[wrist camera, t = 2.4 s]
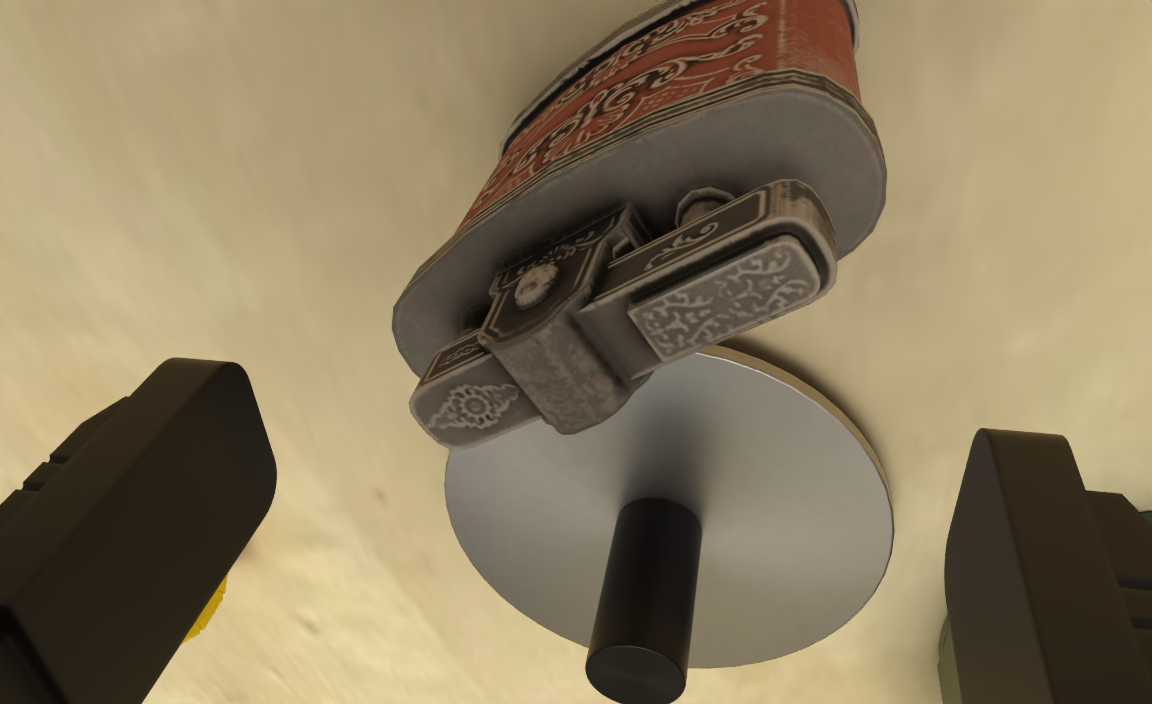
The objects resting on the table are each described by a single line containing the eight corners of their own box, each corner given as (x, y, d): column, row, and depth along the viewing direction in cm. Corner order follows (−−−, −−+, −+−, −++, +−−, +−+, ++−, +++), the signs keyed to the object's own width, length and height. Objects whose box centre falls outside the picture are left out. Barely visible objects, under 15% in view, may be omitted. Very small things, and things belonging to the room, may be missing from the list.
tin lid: (478, 613, 31) (422, 778, 26) (427, 305, 24) (337, 456, 19) (858, 663, 29) (870, 853, 24) (928, 339, 22) (965, 521, 17)
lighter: (562, 237, 22) (427, 551, 14) (476, 119, 20) (273, 392, 13) (887, 62, 18) (959, 356, 10) (808, -95, 17) (818, 100, 9)
